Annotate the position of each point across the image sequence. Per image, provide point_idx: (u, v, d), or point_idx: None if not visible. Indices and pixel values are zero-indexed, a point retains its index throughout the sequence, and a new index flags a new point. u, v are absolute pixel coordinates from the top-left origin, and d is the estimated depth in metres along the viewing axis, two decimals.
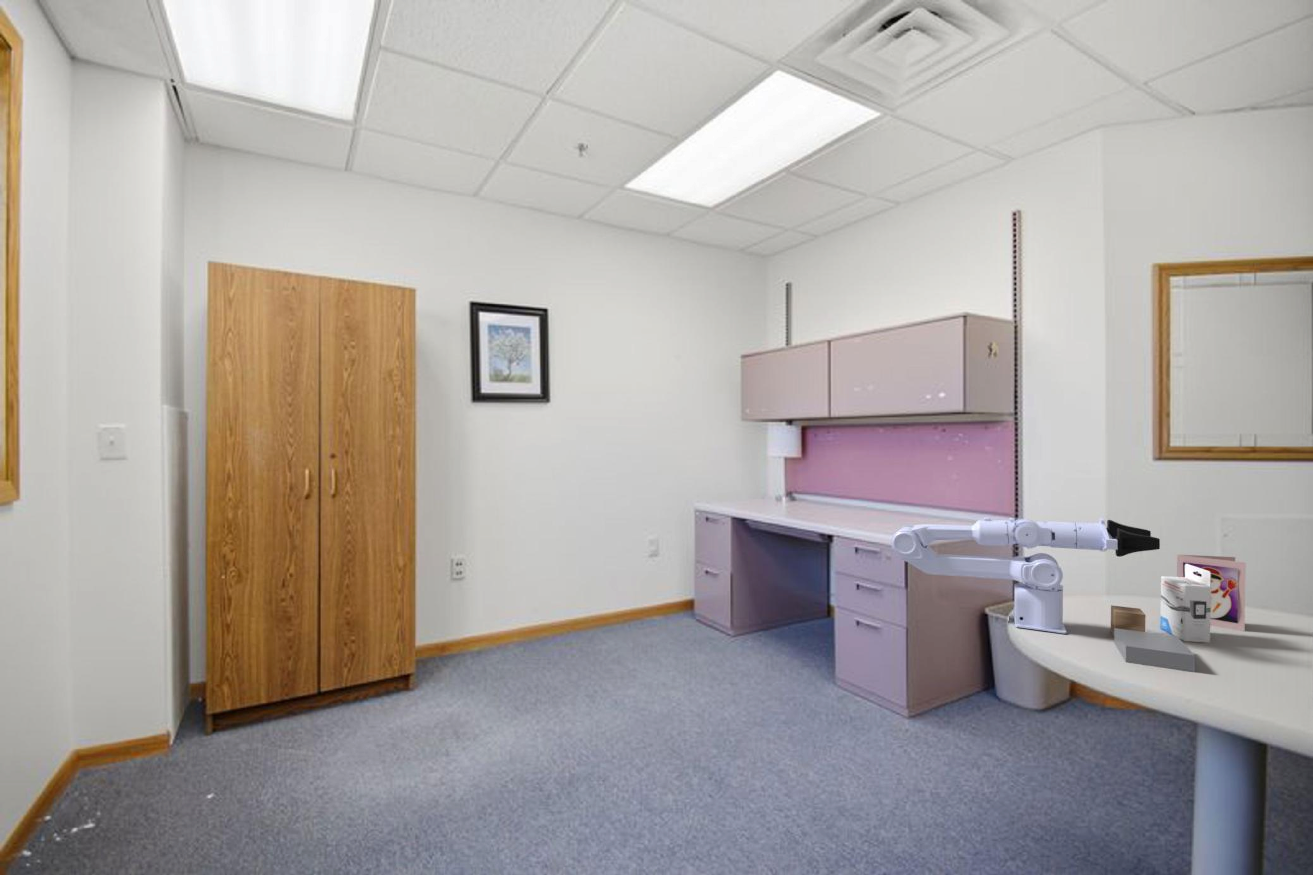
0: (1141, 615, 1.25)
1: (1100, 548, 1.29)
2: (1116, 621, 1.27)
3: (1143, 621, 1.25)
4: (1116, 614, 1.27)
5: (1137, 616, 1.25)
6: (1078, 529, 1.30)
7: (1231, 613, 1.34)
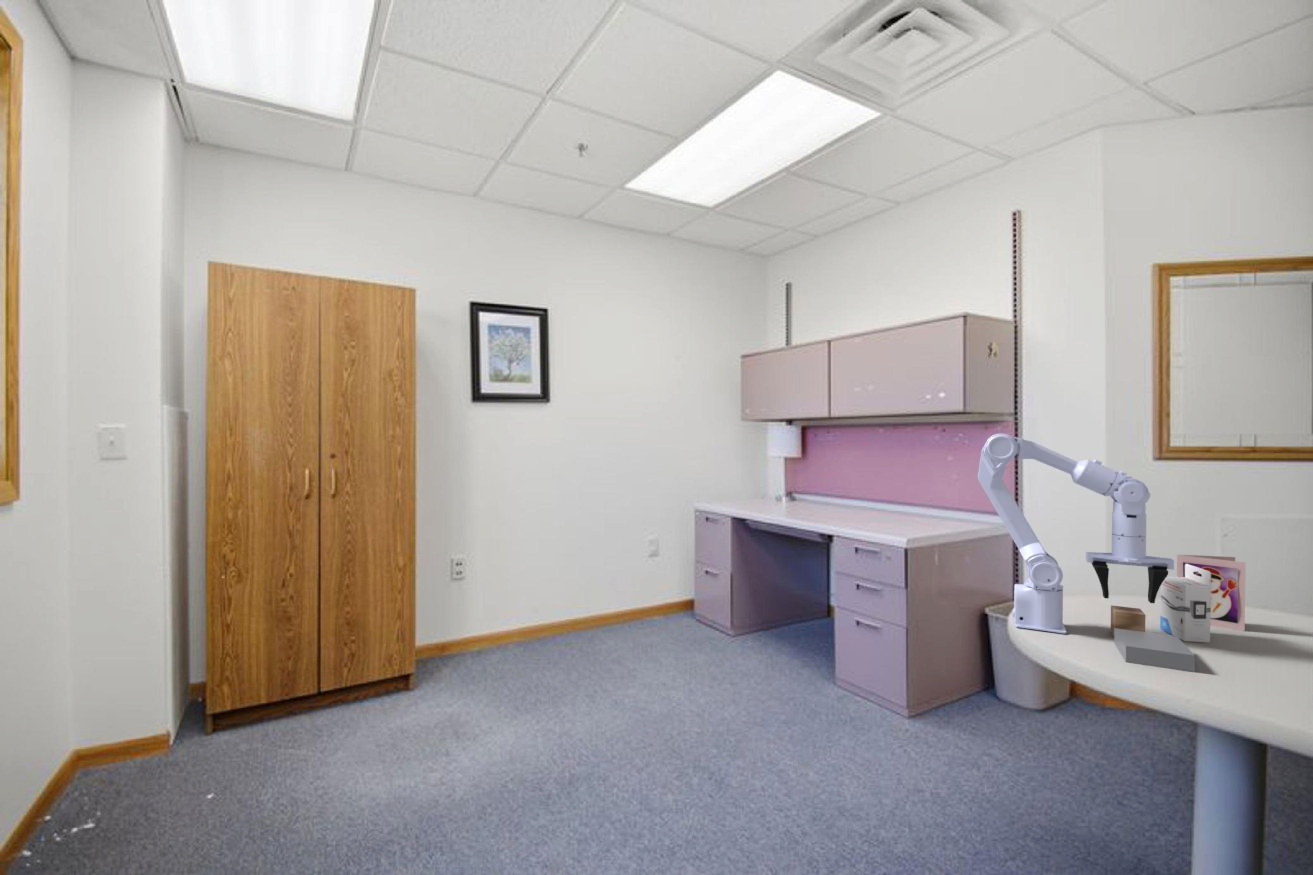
0: (1141, 615, 1.25)
1: None
2: (1116, 621, 1.27)
3: (1143, 621, 1.25)
4: (1116, 614, 1.27)
5: (1137, 616, 1.25)
6: (1117, 537, 1.27)
7: (1231, 613, 1.34)
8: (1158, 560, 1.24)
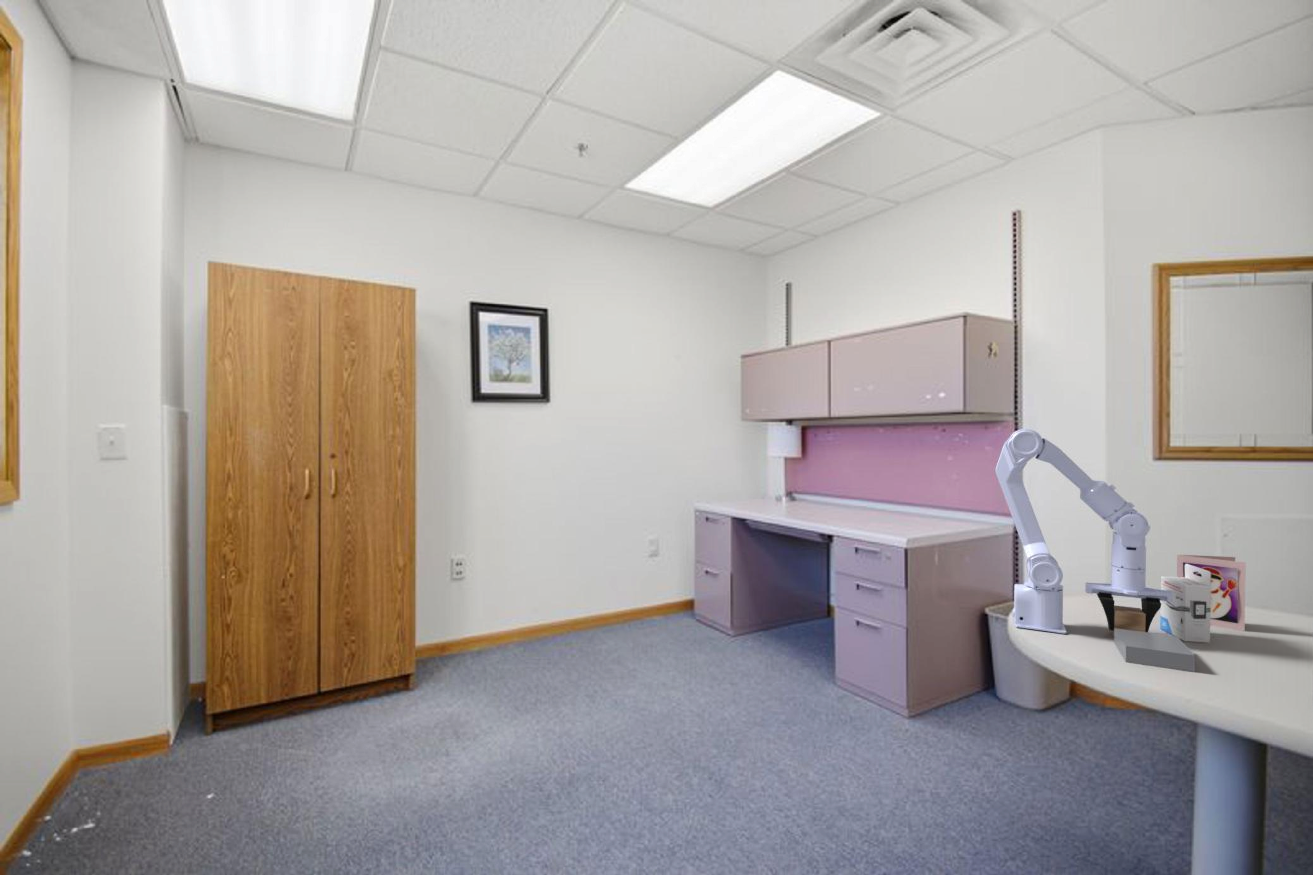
0: (1141, 615, 1.25)
1: None
2: (1116, 621, 1.27)
3: (1143, 621, 1.25)
4: (1116, 614, 1.27)
5: (1137, 616, 1.25)
6: (1117, 568, 1.27)
7: (1231, 613, 1.34)
8: (1157, 593, 1.24)
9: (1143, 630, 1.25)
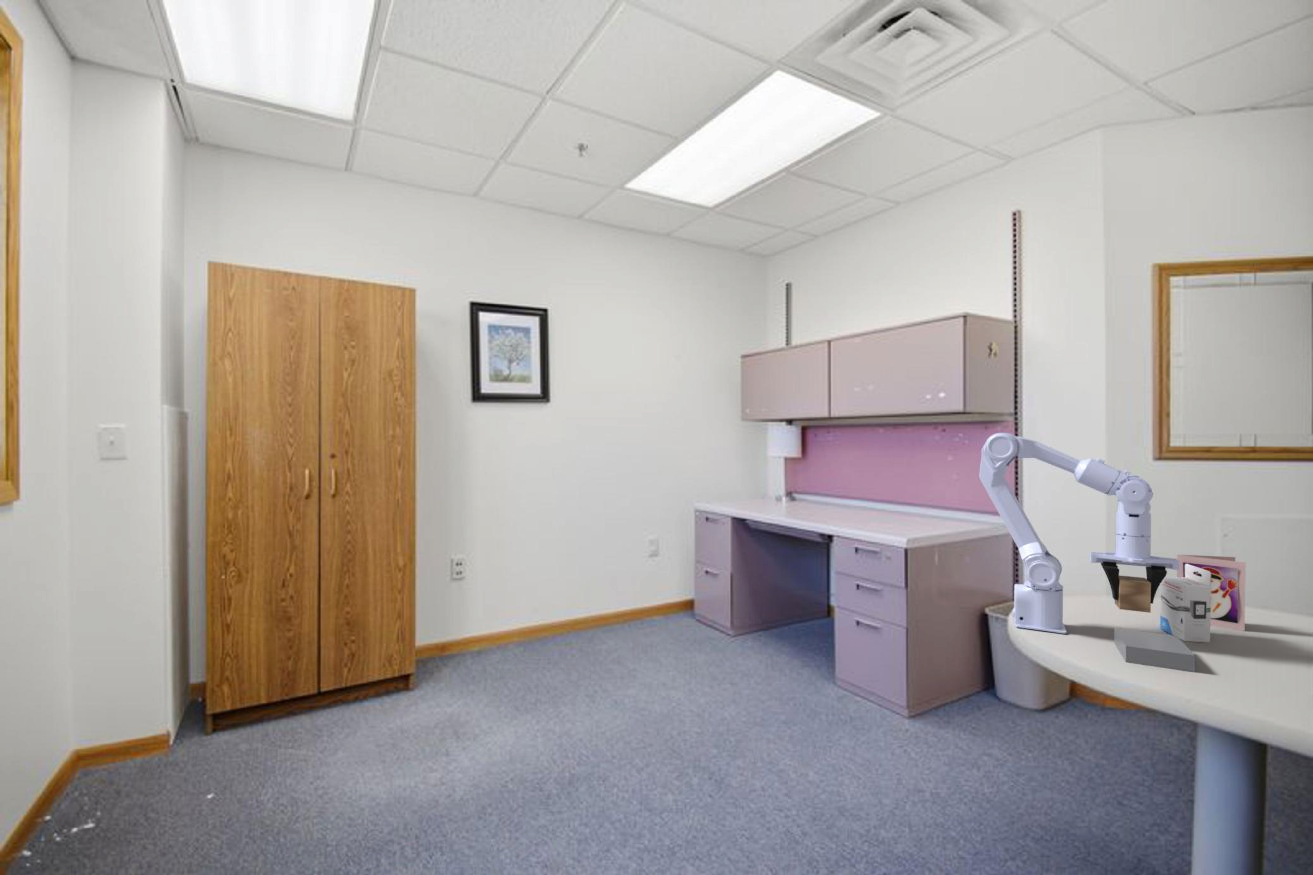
0: (1146, 583, 1.23)
1: None
2: (1121, 590, 1.25)
3: (1148, 589, 1.23)
4: (1121, 583, 1.25)
5: (1142, 585, 1.23)
6: (1121, 536, 1.25)
7: (1231, 613, 1.34)
8: (1163, 560, 1.23)
9: (1148, 599, 1.23)
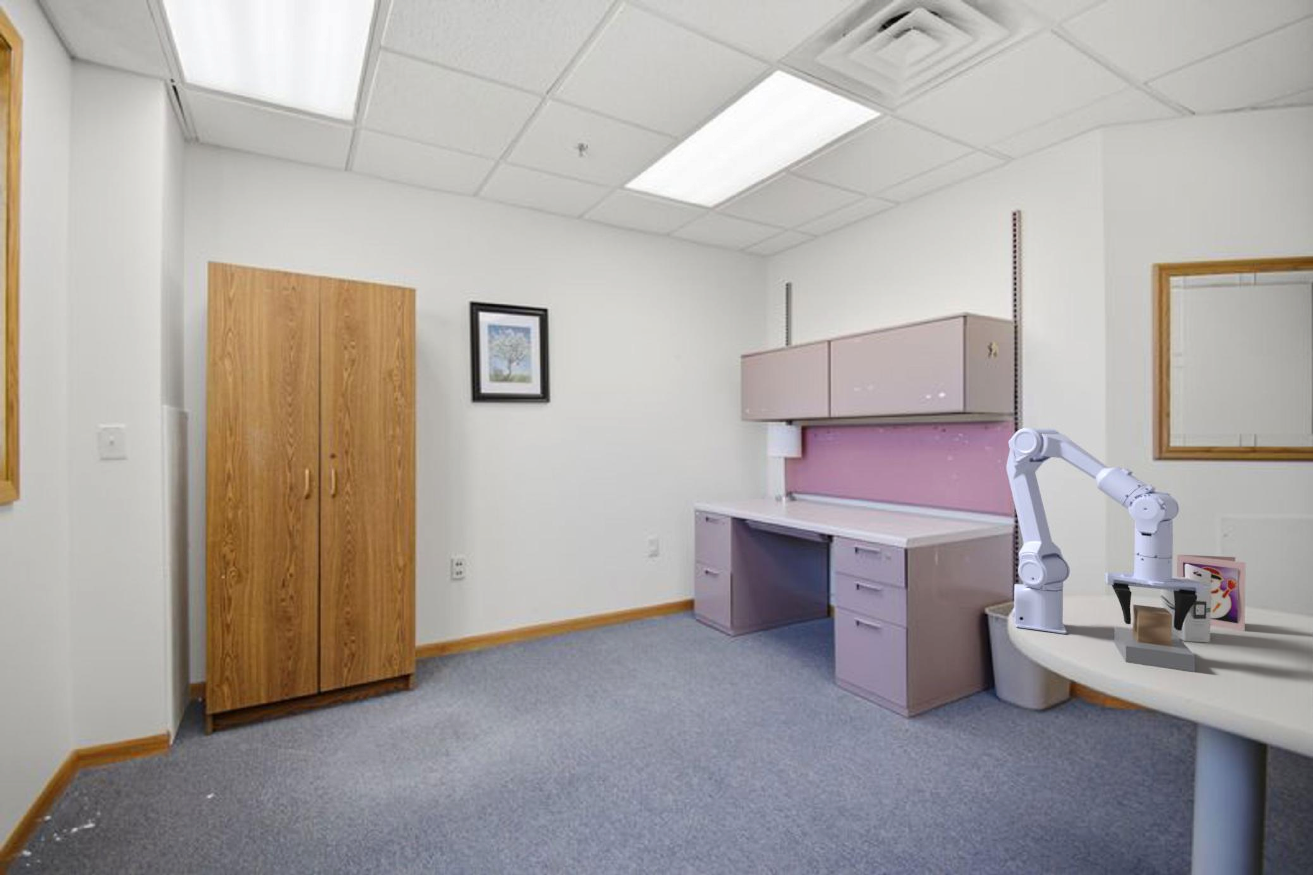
0: (1167, 615, 1.15)
1: None
2: (1139, 622, 1.17)
3: (1169, 622, 1.14)
4: (1139, 614, 1.17)
5: (1162, 616, 1.15)
6: (1141, 557, 1.17)
7: (1231, 613, 1.34)
8: (1186, 583, 1.14)
9: (1169, 632, 1.14)
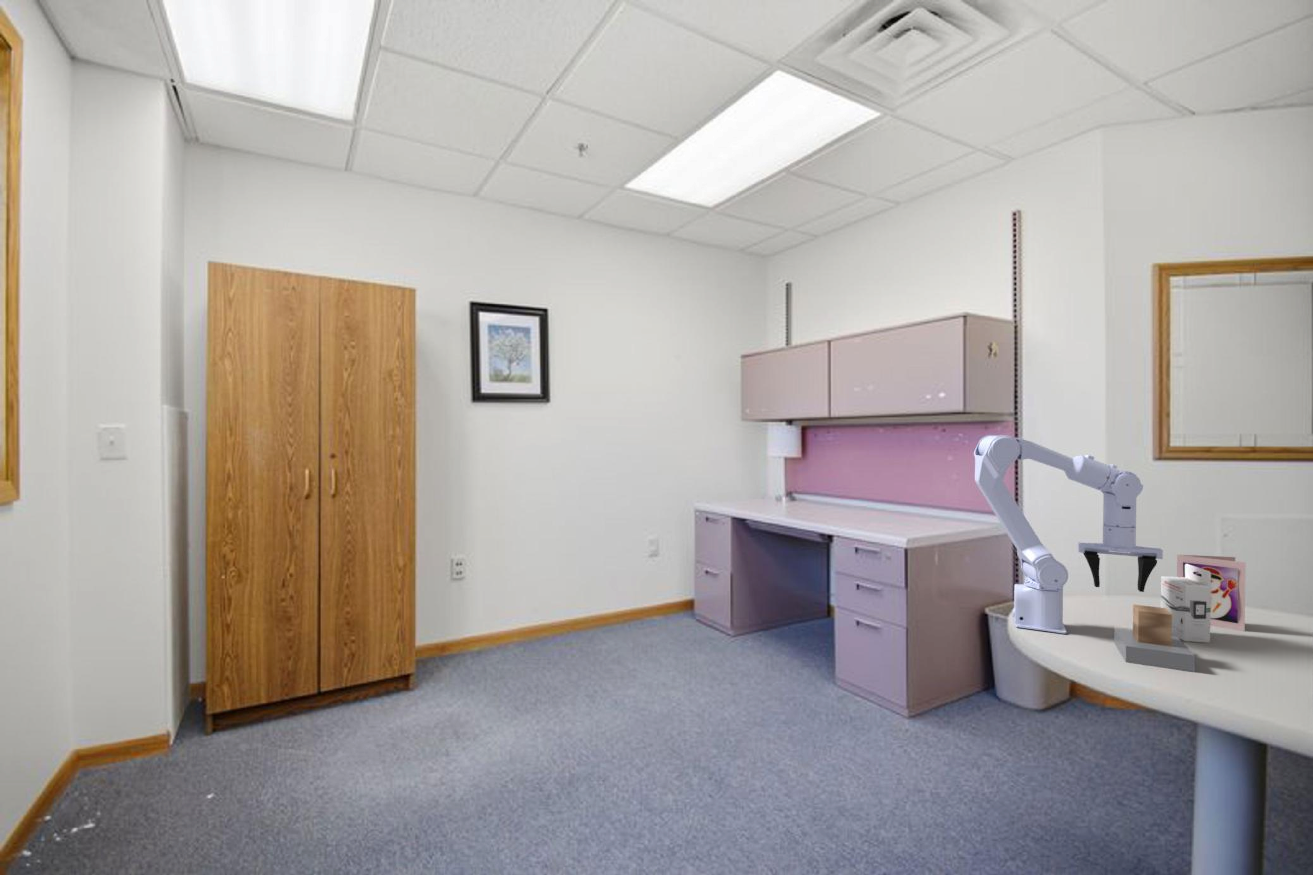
0: (1167, 615, 1.15)
1: None
2: (1139, 622, 1.17)
3: (1169, 622, 1.14)
4: (1139, 614, 1.17)
5: (1162, 616, 1.15)
6: (1108, 527, 1.31)
7: (1231, 613, 1.34)
8: (1147, 550, 1.28)
9: (1169, 632, 1.14)
